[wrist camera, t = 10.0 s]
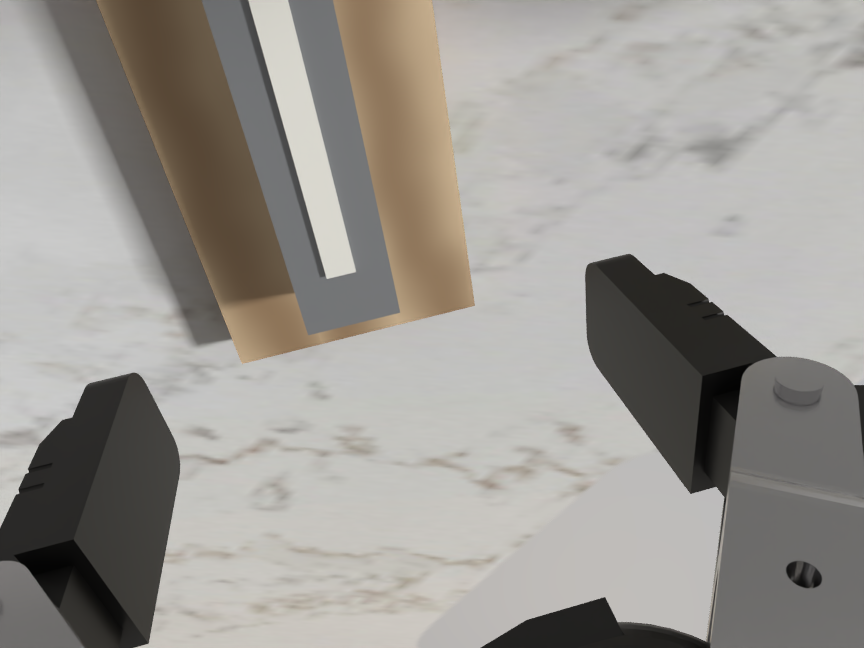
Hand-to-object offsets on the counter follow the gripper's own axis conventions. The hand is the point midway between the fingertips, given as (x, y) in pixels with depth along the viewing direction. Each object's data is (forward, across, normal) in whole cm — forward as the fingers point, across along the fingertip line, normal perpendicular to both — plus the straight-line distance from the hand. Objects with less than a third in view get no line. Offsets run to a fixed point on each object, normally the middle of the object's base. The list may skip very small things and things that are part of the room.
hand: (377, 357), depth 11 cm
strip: (+20, +1, 0) cm, 20 cm away
